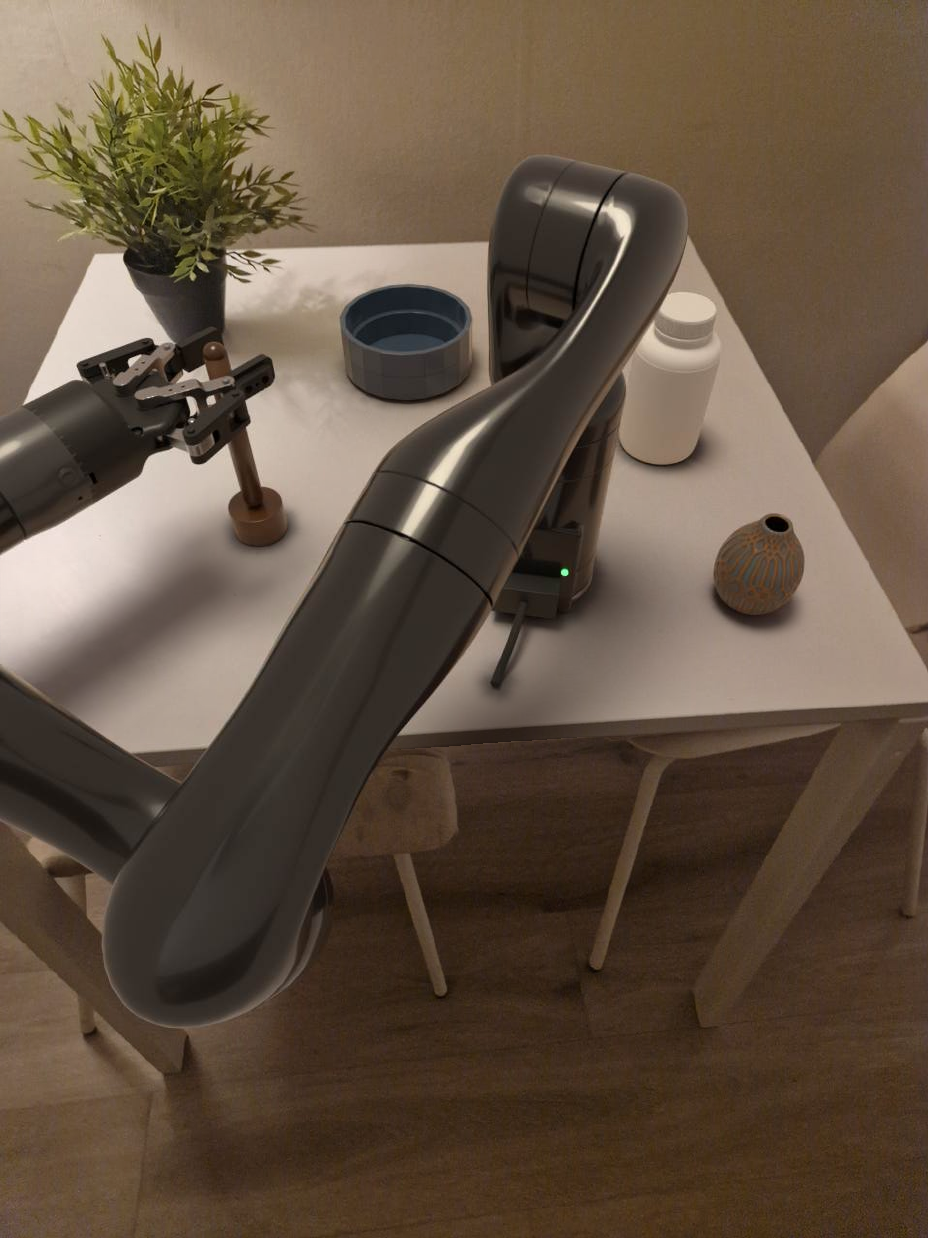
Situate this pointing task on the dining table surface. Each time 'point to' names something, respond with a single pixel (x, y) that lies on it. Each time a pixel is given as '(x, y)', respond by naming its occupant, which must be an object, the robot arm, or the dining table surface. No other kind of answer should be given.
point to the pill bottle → (671, 381)
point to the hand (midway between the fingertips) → (244, 352)
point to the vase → (759, 566)
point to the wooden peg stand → (247, 475)
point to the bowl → (407, 341)
